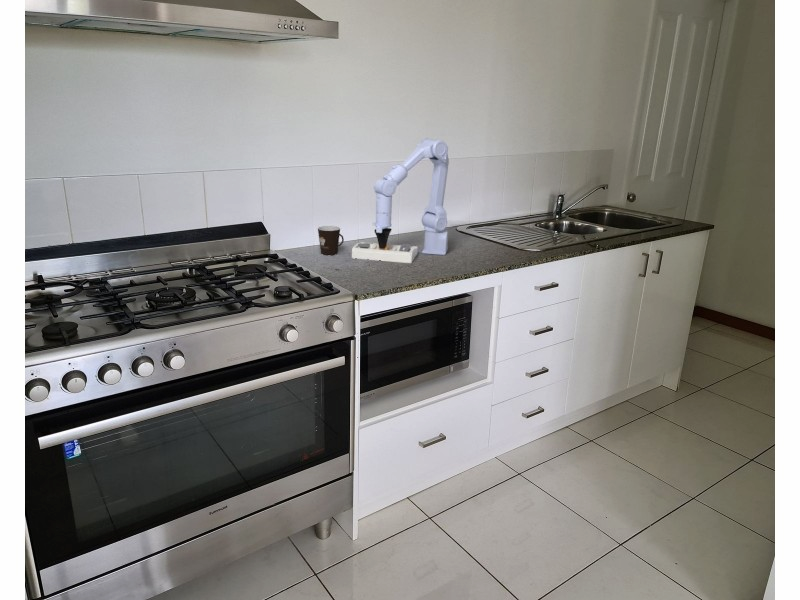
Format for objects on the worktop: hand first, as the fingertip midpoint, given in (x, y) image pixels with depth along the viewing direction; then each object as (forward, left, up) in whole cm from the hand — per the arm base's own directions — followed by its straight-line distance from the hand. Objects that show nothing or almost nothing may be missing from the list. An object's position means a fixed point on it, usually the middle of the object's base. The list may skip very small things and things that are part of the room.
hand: (382, 247), depth 217 cm
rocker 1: (+8, -2, -1) cm, 8 cm away
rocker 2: (-8, -3, -1) cm, 9 cm away
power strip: (0, -5, -5) cm, 7 cm away
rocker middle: (0, -2, -1) cm, 3 cm away
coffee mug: (+21, -1, -5) cm, 21 cm away
